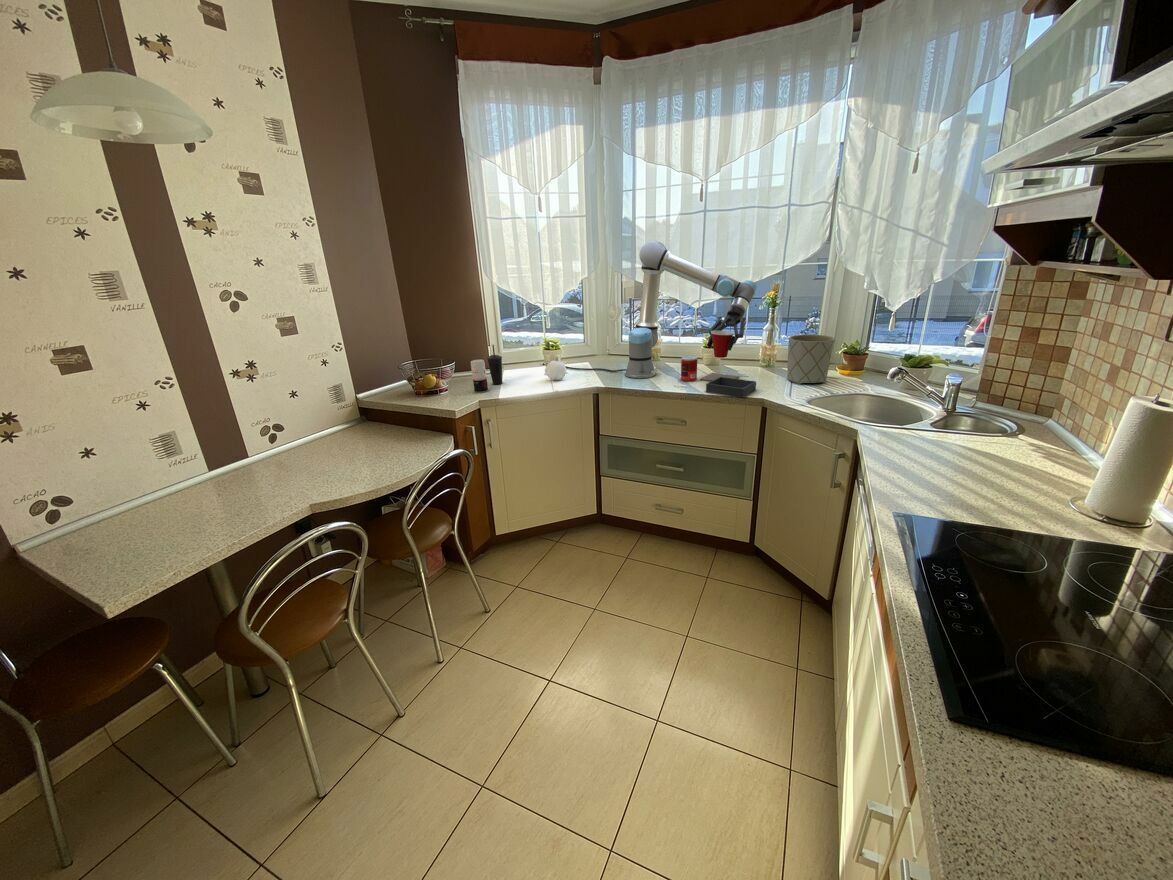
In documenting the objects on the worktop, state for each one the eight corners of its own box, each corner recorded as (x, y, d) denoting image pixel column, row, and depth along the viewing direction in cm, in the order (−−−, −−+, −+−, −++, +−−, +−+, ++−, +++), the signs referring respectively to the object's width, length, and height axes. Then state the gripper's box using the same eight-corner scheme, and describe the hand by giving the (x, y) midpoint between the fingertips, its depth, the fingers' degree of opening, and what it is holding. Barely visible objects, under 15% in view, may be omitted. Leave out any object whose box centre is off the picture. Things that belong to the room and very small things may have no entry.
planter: (817, 374, 232) (823, 333, 225) (836, 385, 215) (842, 340, 207) (778, 376, 233) (782, 335, 226) (793, 386, 215) (798, 342, 208)
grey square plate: (699, 379, 234) (699, 378, 234) (712, 373, 244) (712, 372, 244) (726, 383, 226) (726, 382, 225) (739, 377, 235) (739, 376, 235)
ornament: (570, 379, 248) (569, 356, 243) (556, 383, 241) (554, 360, 236) (557, 376, 254) (555, 354, 250) (542, 380, 247) (541, 357, 243)
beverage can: (482, 388, 238) (478, 358, 233) (490, 390, 234) (487, 360, 229) (471, 391, 234) (467, 361, 228) (480, 393, 230) (476, 362, 224)
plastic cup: (733, 358, 223) (735, 333, 219) (710, 359, 226) (711, 333, 221) (732, 354, 233) (733, 329, 229) (709, 354, 235) (710, 329, 231)
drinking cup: (507, 381, 248) (503, 343, 241) (500, 385, 241) (495, 346, 234) (494, 381, 251) (490, 343, 243) (487, 385, 244) (482, 345, 237)
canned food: (698, 378, 238) (699, 356, 234) (694, 382, 231) (695, 359, 227) (683, 377, 241) (683, 355, 237) (679, 381, 234) (679, 358, 230)
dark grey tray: (705, 392, 214) (706, 383, 212) (719, 385, 224) (720, 376, 222) (742, 397, 203) (743, 388, 202) (755, 390, 213) (756, 381, 212)
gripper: (762, 316, 225) (743, 354, 221) (719, 313, 240) (700, 349, 236) (757, 305, 220) (738, 345, 215) (714, 303, 235) (695, 340, 231)
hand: (718, 347), depth 226 cm, fingers closed on plastic cup, 10 cm apart
